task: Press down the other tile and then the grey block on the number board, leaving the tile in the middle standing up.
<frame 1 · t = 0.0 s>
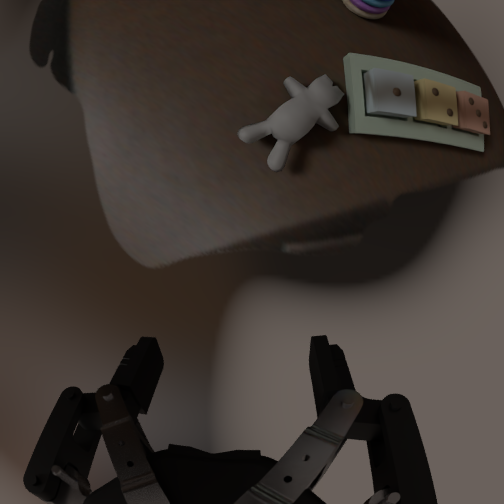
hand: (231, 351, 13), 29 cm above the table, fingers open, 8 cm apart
bunny figurine: (294, 118, 35), on the table
number board: (420, 104, 32), on the table
grey block 1: (390, 93, 28), point 5 cm above the table, slide at 0.0 cm
tile 3: (470, 113, 27), point 5 cm above the table, slide at 0.0 cm
stacking toy: (362, 2, 26), on the table
tile 2: (435, 102, 28), point 5 cm above the table, slide at 0.0 cm
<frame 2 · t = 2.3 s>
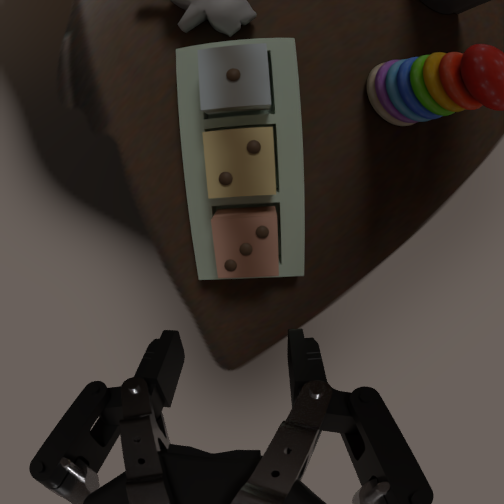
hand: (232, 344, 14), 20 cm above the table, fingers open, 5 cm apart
bunny figurine: (200, 0, 21), on the table
number board: (244, 158, 29), on the table
grey block 1: (235, 79, 21), point 5 cm above the table, slide at 0.0 cm
tile 3: (247, 241, 27), point 5 cm above the table, slide at 0.0 cm
stacking toy: (393, 94, 25), on the table
tile 2: (241, 161, 24), point 5 cm above the table, slide at 0.0 cm
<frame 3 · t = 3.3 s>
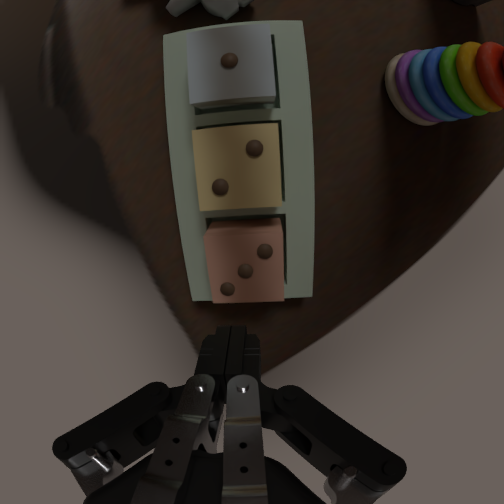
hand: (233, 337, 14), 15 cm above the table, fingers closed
number board: (243, 160, 24), on the table
grey block 1: (232, 67, 17), point 5 cm above the table, slide at 0.0 cm
tile 3: (246, 260, 23), point 5 cm above the table, slide at 0.0 cm
stacking toy: (413, 89, 20), on the table
tile 2: (239, 165, 20), point 5 cm above the table, slide at 0.0 cm
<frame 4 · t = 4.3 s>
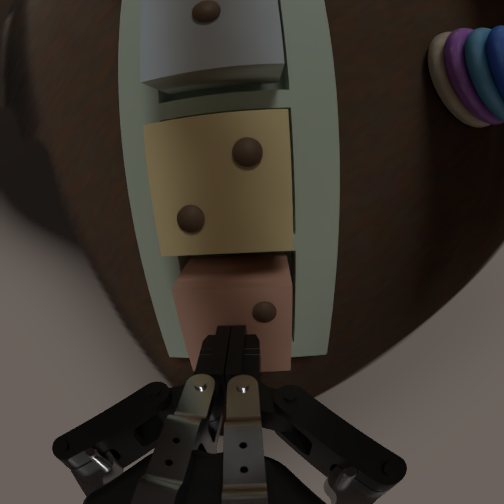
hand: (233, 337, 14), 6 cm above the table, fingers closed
number board: (233, 169, 17), on the table
grey block 1: (213, 27, 10), point 5 cm above the table, slide at 0.0 cm
tile 3: (238, 315, 16), point 4 cm above the table, slide at 0.4 cm, touching gripper
stacking toy: (459, 79, 13), on the table
tile 2: (224, 179, 13), point 5 cm above the table, slide at 0.0 cm
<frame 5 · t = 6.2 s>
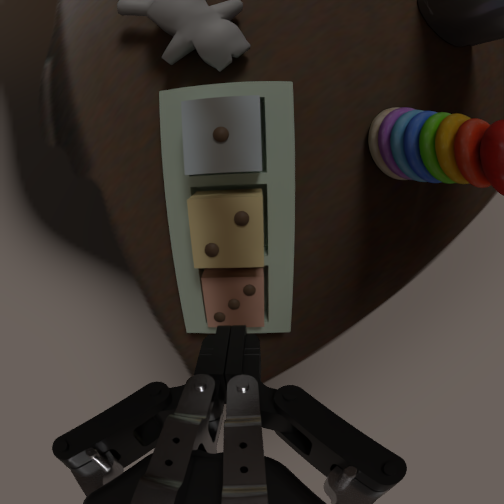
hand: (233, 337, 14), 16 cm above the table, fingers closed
bunny figurine: (189, 24, 20), on the table
number board: (232, 214, 28), on the table
grey block 1: (223, 135, 21), point 5 cm above the table, slide at 0.0 cm
tile 3: (235, 294, 29), point 3 cm above the table, slide at 2.1 cm
stacking toy: (396, 143, 25), on the table
tile 2: (228, 227, 24), point 5 cm above the table, slide at 0.0 cm
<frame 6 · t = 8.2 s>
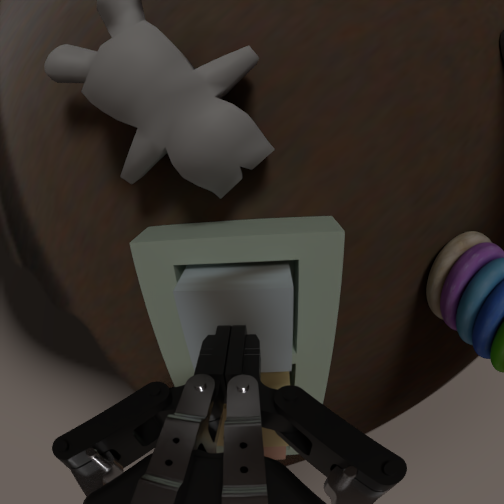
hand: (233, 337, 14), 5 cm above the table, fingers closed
bunny figurine: (167, 89, 14), on the table
number board: (251, 367, 22), on the table
grey block 1: (239, 316, 16), point 3 cm above the table, slide at 1.5 cm, touching gripper
tile 3: (255, 434, 23), point 3 cm above the table, slide at 2.1 cm
stacking toy: (456, 271, 18), on the table
tile 2: (248, 409, 18), point 5 cm above the table, slide at 0.0 cm
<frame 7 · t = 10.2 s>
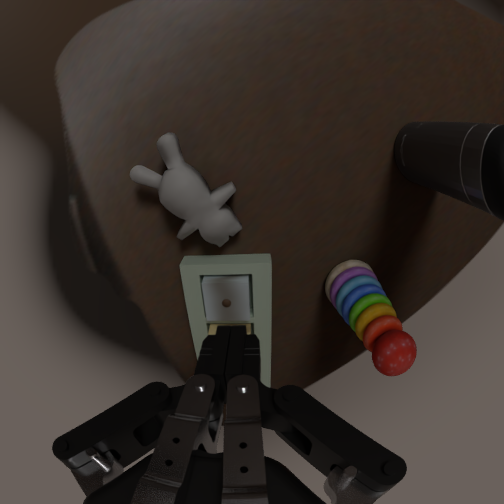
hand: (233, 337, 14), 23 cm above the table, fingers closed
bunny figurine: (193, 190, 35), on the table
number board: (232, 328, 43), on the table
grey block 1: (227, 295, 38), point 2 cm above the table, slide at 2.1 cm, touching number board
stacking toy: (348, 280, 40), on the table
tile 2: (230, 347, 39), point 5 cm above the table, slide at 0.0 cm
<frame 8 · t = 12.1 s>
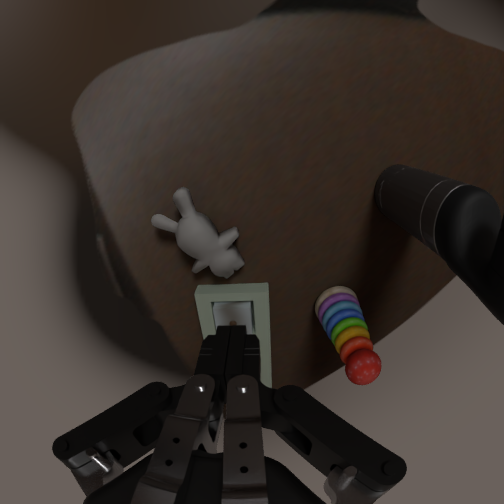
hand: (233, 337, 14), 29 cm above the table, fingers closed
bunny figurine: (204, 232, 43), on the table
number board: (239, 341, 51), on the table
grey block 1: (234, 316, 46), point 2 cm above the table, slide at 2.1 cm, touching number board
stacking toy: (335, 302, 47), on the table
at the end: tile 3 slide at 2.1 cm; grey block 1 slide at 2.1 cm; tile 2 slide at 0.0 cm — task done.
